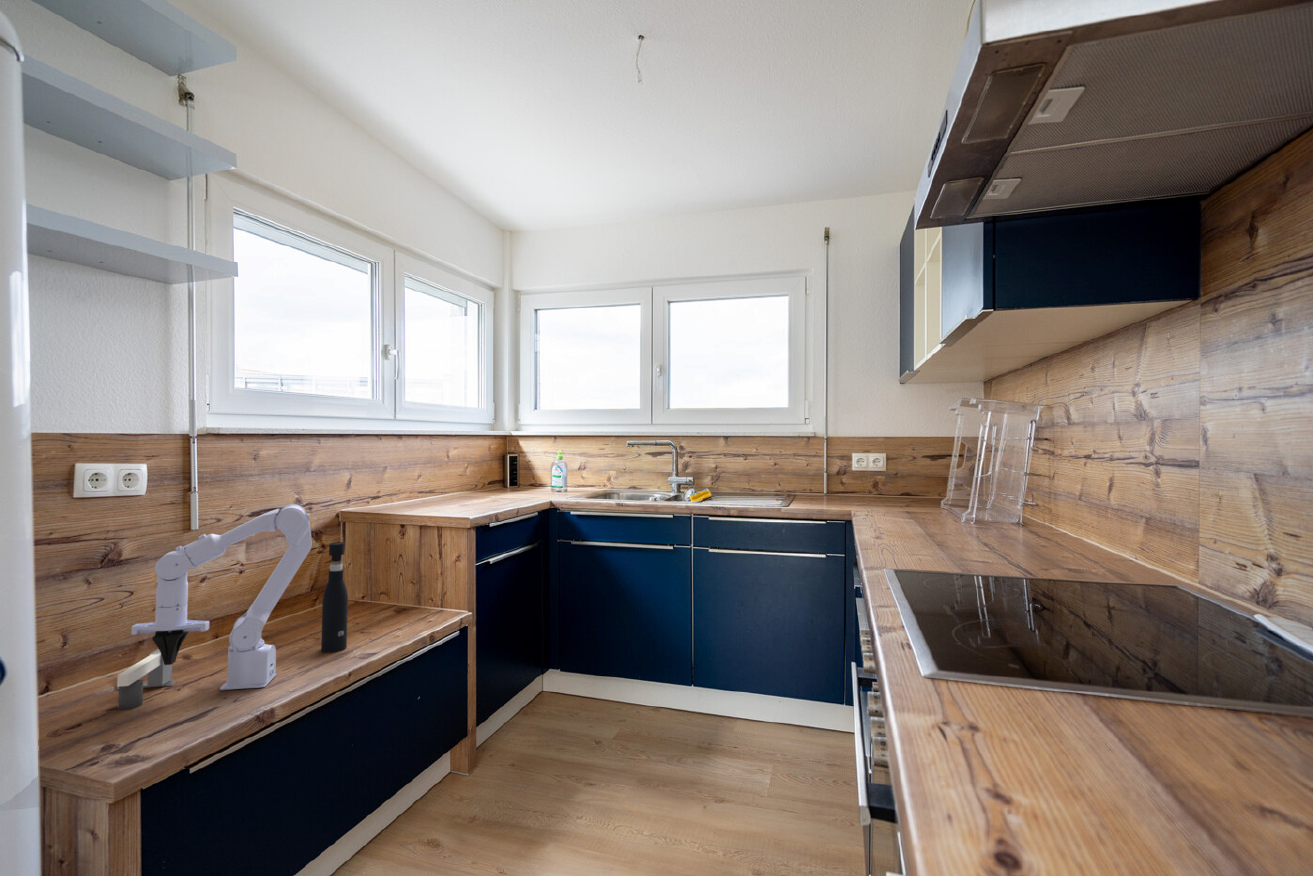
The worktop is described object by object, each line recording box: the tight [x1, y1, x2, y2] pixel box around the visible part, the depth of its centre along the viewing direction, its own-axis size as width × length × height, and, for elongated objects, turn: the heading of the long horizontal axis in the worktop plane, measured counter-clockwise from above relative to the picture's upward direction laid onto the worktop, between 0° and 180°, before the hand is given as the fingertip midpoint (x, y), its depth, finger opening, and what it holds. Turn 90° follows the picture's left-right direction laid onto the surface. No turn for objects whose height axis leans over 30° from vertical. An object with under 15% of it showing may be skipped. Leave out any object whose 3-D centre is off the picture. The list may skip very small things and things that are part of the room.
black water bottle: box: [320, 541, 349, 653], centre depth 170 cm, size 6×6×30 cm
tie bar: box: [116, 648, 173, 688], centre depth 137 cm, size 3×16×8 cm, turn 14°
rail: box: [116, 679, 178, 691], centre depth 142 cm, size 11×2×1 cm, turn 104°
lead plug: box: [117, 679, 144, 711], centre depth 132 cm, size 4×4×5 cm
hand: (169, 663), depth 138 cm, fingers closed
